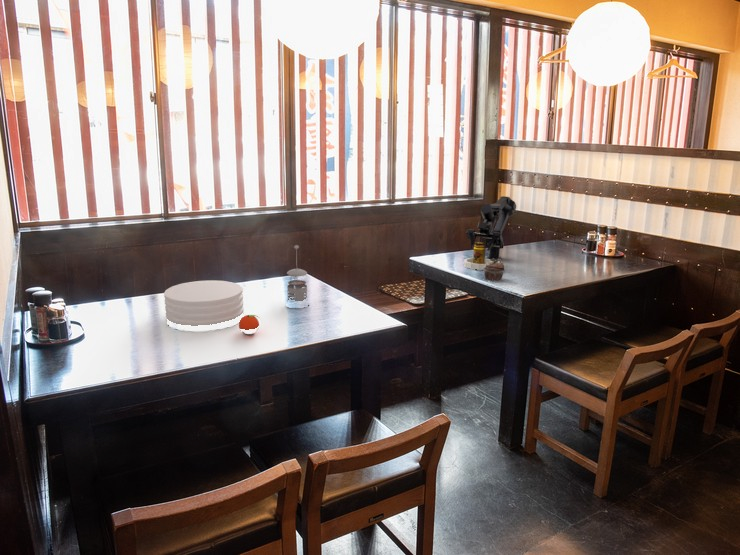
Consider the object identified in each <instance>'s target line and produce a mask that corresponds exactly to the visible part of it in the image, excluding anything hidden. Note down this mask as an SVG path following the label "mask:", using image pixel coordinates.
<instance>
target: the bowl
mask: <svg viewBox="0 0 740 555" xmlns="http://www.w3.org/2000/svg"><path fill="white" fill-rule="evenodd" d="M490 260H491V259H488V258H487V257H485V263H486V264H487V263H489V262H490ZM471 262H473V257H468V258H465V259H464V260H463V266H464V268H467V269H469V268H470V269H469V270H474V269H477V270H476V271H484V268H485V267H486V264H475V263H471Z"/></svg>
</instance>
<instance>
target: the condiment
mask: <svg viewBox="0 0 740 555" xmlns="http://www.w3.org/2000/svg"><path fill="white" fill-rule="evenodd" d="M472 256H473V257H472V258H473V262H471V263H475V264H486V263H485V258H486V242H484V241H483V242H482V241H475V243H474V246H473V253H472Z"/></svg>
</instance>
